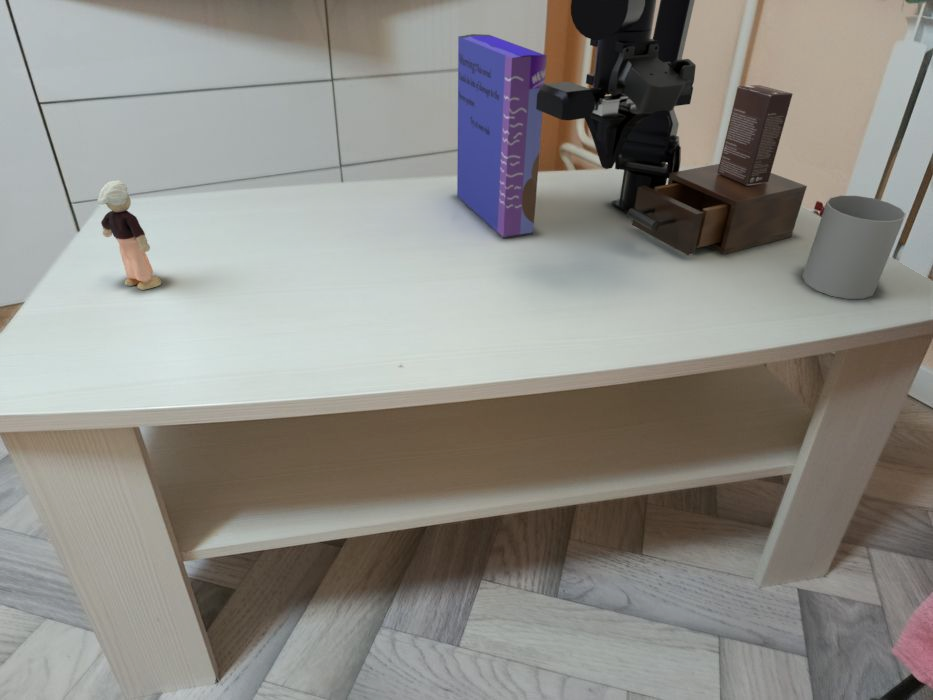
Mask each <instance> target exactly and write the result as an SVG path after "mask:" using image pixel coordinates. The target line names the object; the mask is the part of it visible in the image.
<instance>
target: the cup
mask: <svg viewBox="0 0 933 700" xmlns="http://www.w3.org/2000/svg"><path fill="white" fill-rule="evenodd" d="M905 218H906V212H905V211H904V210H903V209H902V208H901V207H899V206H898V205H894V204H893V203H890V202H888V201H884V200H881V199H876V198H873V197H868V196H860V195H837V196H831V197H829V198H828V200H827V201H826V203H825V205H824V208H823V212H822V215H821V218H820V221H819V224H818V227H817V231H816V233H815V236H814V239H813V242H812V245H811V248H810V252H809V254H808V256H807V259H806V263H805V266H804V269H803V271H802V275H801V277H802V280H803V281H804V283H805V284H806V285H807V286H809V287H810V288H812V289H813V290H815V291H817V292H820V293H823V294H825V295H827V296H831V297H835V298H839V299H845V300H846V299H847V300H864V299H866V298H870V297H872V296H873V295H874V294H875V291H876V290H877V287H878V284H879V282H880V279H881V277H882V274H883V272H884V269H885V268H886V264H887V263H888V260H889V257H890V255H891V252H892V249H893V247H894V245H895V242H896V240H897V237H898V235H899V233H900V230H901V227H902V225H903V222H904V220H905Z"/></svg>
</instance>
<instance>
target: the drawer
mask: <svg viewBox="0 0 933 700" xmlns="http://www.w3.org/2000/svg"><path fill="white" fill-rule="evenodd" d="M730 208H731V205H730V204H727V203H725V202H723V201H721V200H718V199H716V198H714V197H711V196H709V195H707V194H704V193H702V192H700V191H698V190H695V189H693V188H691V187H688V186H686V185H684V184H681V183H679V182H678V183H673V184H668V183H667V184H666V185H662V186H657V187H655V190H653V189H651V188H649V187H647V186H645V185H644V186H639V187H638V191H637V197H636V203H635V209H634V208H631V209H629V211H628V213H626V216H627V218H628V219H631V220H632V221H631V226H633V227H635V228H637V229H638V230H640V231H642V232H644V233H645V234H648V235H649V236H651V237H653V238H654V239H656V240H659V241H660V242H662V243H664V244H665V245H668V246H669V247H671V248H673V249H674V250H675V249H676V250H677V251H679V252H680V253H683V254H684V255H686V256H691V255H695V253H696V248H703V247H708V246H707V245H711V244H715V243H719V242H722V240H723V236H724V232H725V228H726V224H727V220H728V216H729V212H730Z"/></svg>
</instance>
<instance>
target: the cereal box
mask: <svg viewBox="0 0 933 700" xmlns="http://www.w3.org/2000/svg"><path fill="white" fill-rule="evenodd" d="M457 37H458V40H457V41H458V42H457V46H458V47H457V48H458V49H457V51H458V53H457V69H458V70H457V164H456V165H457V167H456V168H457V170H456V171H457V172H456V175H457V176H456V177H457V178H456V179H457V183H456V185H457V186H456V187H457V189H456V193H457V194H456V197H457V199H459V200H460V201H461V202H462V203H463V204H464V205H465V206H466V207H468V208H469V210H471V211H472V212H473V213H474V214H475V215H476V216H478V218H480V219H481V220H482V221H483V222H484V223H485V224H486V225H488V227H490V228H491V229H492V230H493V231H494V232H495V233H496V234H497V235H499V236H500V237H501V238H502V239H510V238H517V237H522V236H528V235H533V234H534V229H535V215H536V203H537V189H538V175H539V163H540V162H539V161H540V149H541V135H542V122H543V121H542V120H543V112H542V111H539V110H537V109H536V104H537V94H538V91H539V90H540V89H541V87H542V86H543V84H546V83H545V82H546V71H547V70H546V69H547V68H546V67H547V55H546V54H544V53H541V52H538V51H535V50H532V49H530V48H527V47H524V46H522V45H519V44H516V43H513V42H510V41H507V40H505V39H502V38H500V37H497V36H493V35H491V34H479V33H477V34H475V33H472V34H465V35H459V36H457Z"/></svg>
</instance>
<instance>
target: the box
mask: <svg viewBox="0 0 933 700" xmlns="http://www.w3.org/2000/svg"><path fill="white" fill-rule="evenodd" d="M793 95H794V94H793V93H792V92H788V91H783V90H779V89H775V88H772V87H768V86H764V85H760V84H752V85H739V86H737V88H736V92H735V97H734V101H733V104H732V108H731V109H732V110H731V113H730V118H729V122H728V126H727V131H726V135H725V138H724V143H723V147H722V152H721V156H720V159H719V163H718V164H719V168H718V172H717V173H718V174H721V175H723V176H726V177H728V178H731V179H733V180H735V181H738V182H740V183H742V184H744V185H746V186H752V185H758V184H762V183H766V182H768V181H769V177H770V174H771V173H772V170H773V165H774V162H775V159H776V155H777V151H778V148H779V145H780V140H781V139H782V138H781V137H782V134H783V130H784V127H785V123H786V119H787V116H788V113H789V109H790V105H791V101H792V98H793Z"/></svg>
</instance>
